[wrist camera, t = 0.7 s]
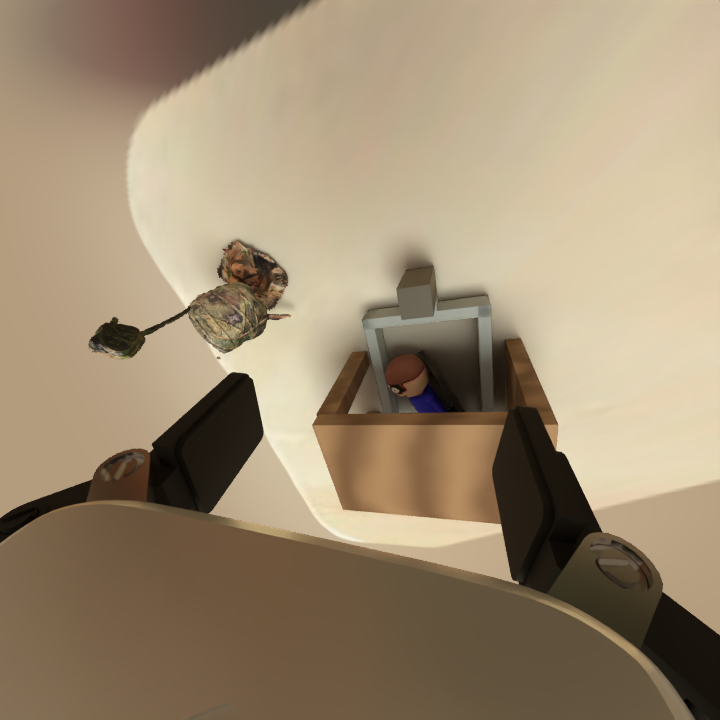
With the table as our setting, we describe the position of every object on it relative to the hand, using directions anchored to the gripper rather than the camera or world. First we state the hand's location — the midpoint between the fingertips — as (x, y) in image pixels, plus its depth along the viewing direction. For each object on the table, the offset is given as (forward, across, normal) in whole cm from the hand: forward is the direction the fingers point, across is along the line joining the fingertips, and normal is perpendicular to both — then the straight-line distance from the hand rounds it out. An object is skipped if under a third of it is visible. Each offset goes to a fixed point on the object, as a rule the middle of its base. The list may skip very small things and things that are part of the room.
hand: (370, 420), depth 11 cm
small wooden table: (+26, -4, +15) cm, 31 cm away
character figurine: (+27, -4, +15) cm, 31 cm away
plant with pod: (+27, +19, +3) cm, 33 cm away
